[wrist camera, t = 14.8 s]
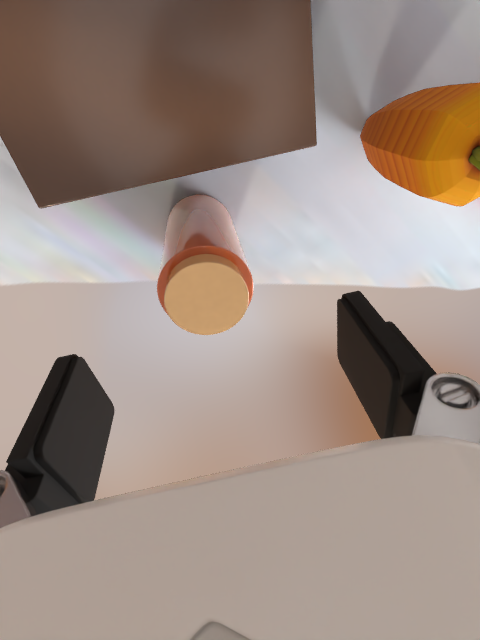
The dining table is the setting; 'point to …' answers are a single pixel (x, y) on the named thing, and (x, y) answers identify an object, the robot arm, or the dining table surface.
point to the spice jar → (203, 268)
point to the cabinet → (150, 89)
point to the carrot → (429, 143)
